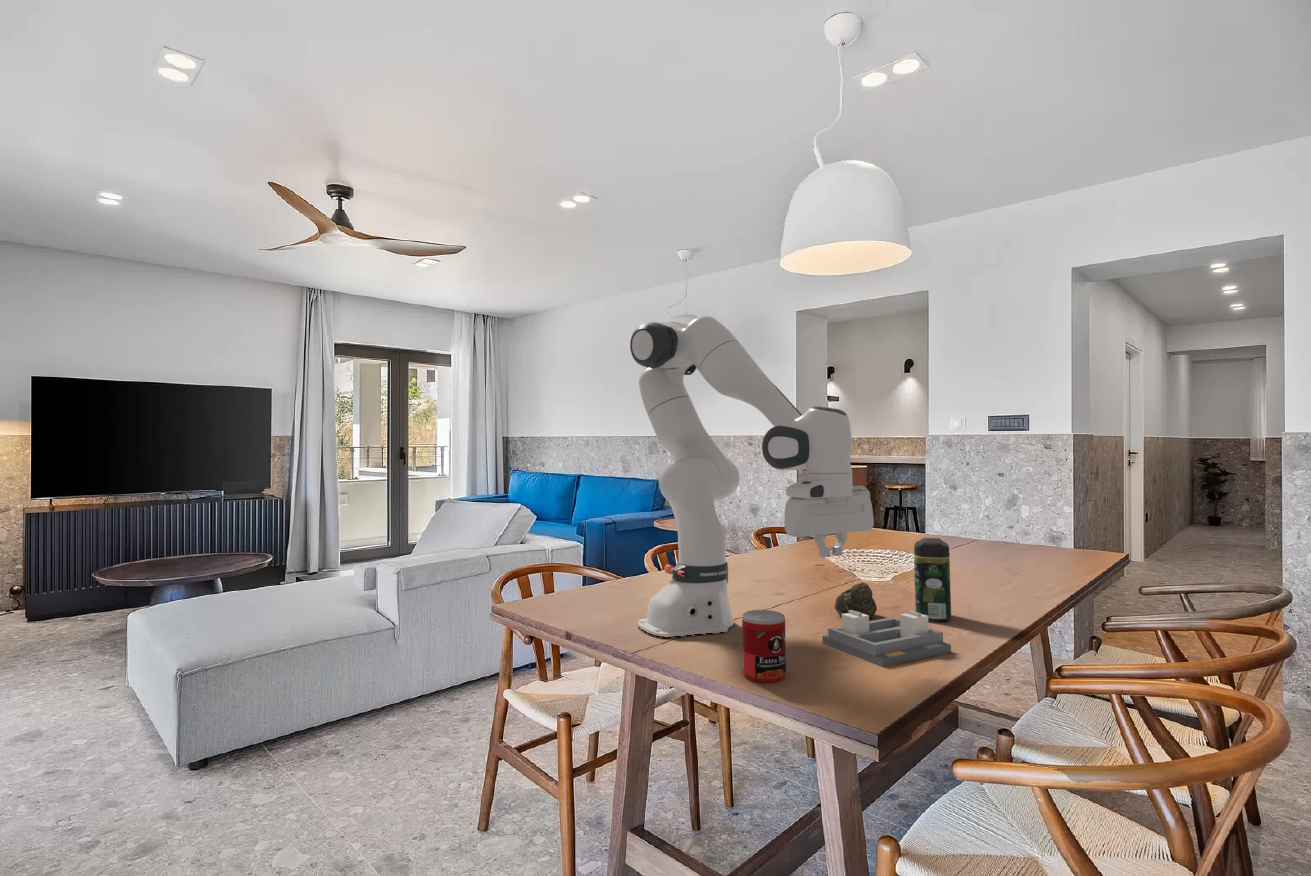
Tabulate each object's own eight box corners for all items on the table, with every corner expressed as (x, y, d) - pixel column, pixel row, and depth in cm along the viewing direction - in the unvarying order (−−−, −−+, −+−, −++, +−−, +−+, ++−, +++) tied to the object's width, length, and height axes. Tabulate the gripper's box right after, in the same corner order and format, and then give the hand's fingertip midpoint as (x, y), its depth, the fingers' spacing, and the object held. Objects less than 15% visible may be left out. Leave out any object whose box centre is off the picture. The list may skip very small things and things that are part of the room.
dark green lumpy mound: (833, 597, 155) (878, 598, 153) (831, 562, 165) (874, 562, 163) (834, 631, 161) (878, 632, 159) (832, 595, 171) (874, 596, 168)
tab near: (914, 643, 134) (913, 615, 134) (900, 638, 137) (899, 611, 137) (928, 640, 136) (928, 612, 136) (914, 636, 139) (914, 609, 139)
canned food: (758, 686, 116) (757, 622, 116) (734, 672, 124) (733, 612, 124) (795, 679, 119) (794, 617, 119) (770, 666, 127) (769, 607, 127)
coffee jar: (915, 611, 165) (913, 535, 165) (950, 613, 162) (948, 536, 163) (914, 621, 156) (913, 541, 156) (952, 623, 153) (950, 542, 154)
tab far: (854, 643, 135) (853, 615, 135) (842, 638, 138) (841, 611, 138) (869, 640, 137) (868, 612, 137) (856, 635, 140) (856, 608, 140)
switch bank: (882, 666, 125) (882, 647, 125) (822, 642, 141) (822, 626, 141) (951, 652, 133) (950, 634, 133) (887, 631, 148) (886, 615, 148)
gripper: (858, 484, 142) (859, 549, 142) (779, 488, 133) (780, 558, 133) (880, 485, 137) (881, 553, 137) (799, 490, 128) (800, 563, 128)
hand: (830, 556), depth 135 cm, fingers closed
